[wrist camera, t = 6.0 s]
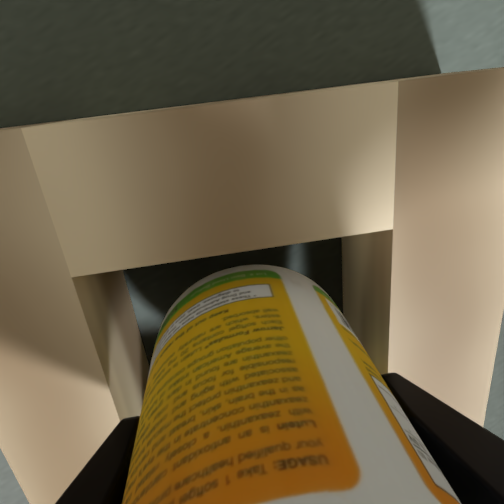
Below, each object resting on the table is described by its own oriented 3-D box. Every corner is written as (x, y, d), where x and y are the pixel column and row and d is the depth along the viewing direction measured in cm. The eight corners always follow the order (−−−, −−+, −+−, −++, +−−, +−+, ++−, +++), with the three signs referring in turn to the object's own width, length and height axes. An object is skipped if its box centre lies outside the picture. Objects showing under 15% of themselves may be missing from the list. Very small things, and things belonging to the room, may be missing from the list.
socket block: (442, 73, 11) (546, 62, 7) (415, 417, 16) (470, 500, 12) (-37, 132, 10) (-156, 150, 7) (99, 474, 15) (69, 579, 12)
